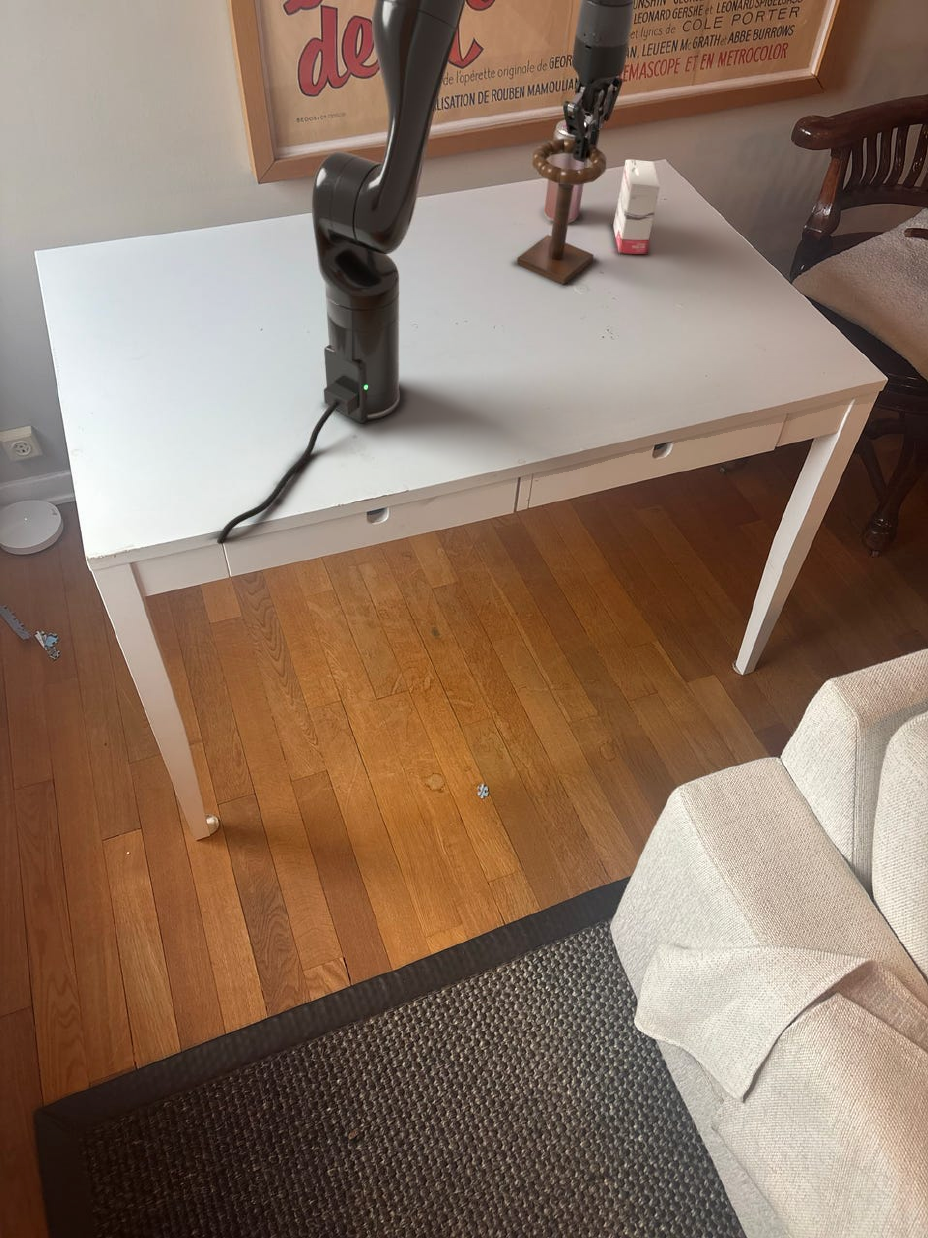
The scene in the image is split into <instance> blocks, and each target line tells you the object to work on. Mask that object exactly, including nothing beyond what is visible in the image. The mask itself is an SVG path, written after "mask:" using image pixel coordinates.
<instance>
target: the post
mask: <svg viewBox="0 0 928 1238" xmlns="http://www.w3.org/2000/svg"><path fill="white" fill-rule="evenodd" d="M573 188H574V185H570V184H559V183H558V190H557V197H556V204H555V212H554V219H553V221H552V227H551V235H549V234H547V235H545V236H544V237H543V238H542V239H540V240H539V241H537V242H536V243H535V244H534V245H532V246H531V247H529V248H528V249H527V250H526V251H524V252H523V253H522V254H520V255H519V256H518V257H517V262H516V265H519V266H520V267H523V268H525V269H527V270H529V271H532V272H533V273H536V274H538V275H541V276H543V277H545V278H547V279H549V280H552V281H554V282H556V283H558V284H561V285H565V284H566V283H568V282H569V281H570V280H571V279H572V278H574V277H575V276H576V275H577V274H578V273H580V272H581V271H583V270H584V269H585V268H586V267H587V266H589V264H591V263H592V262H593V261H594V260H593V259H594V254H593V253H590V252H588V251H587V250H584V249H582V248H579V247H577V246H575V245H572V244H570V243H568V242H566V240H567V233H568V229H569V223H568V222H569V215H570V208H571V202H572V195H573Z"/></svg>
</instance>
